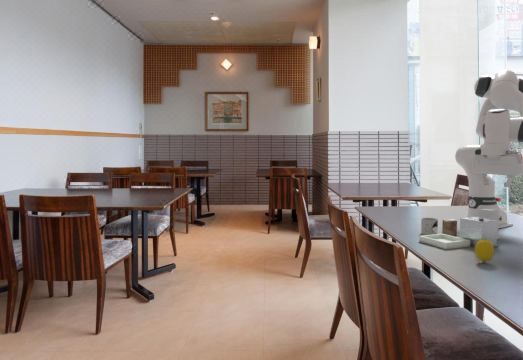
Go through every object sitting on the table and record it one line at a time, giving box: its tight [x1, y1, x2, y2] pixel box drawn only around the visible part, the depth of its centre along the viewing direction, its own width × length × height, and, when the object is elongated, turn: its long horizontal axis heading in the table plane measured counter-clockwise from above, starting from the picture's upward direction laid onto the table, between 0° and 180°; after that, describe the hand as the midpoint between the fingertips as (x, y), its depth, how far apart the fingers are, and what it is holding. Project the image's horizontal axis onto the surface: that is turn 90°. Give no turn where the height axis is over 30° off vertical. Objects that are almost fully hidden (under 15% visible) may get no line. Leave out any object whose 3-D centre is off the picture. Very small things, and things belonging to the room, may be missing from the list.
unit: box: [459, 216, 500, 248], centre depth 163 cm, size 9×11×11 cm
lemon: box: [474, 239, 495, 264], centre depth 137 cm, size 6×6×8 cm
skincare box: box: [479, 209, 500, 240], centre depth 174 cm, size 6×4×12 cm
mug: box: [420, 217, 439, 236], centre depth 186 cm, size 10×7×7 cm, turn 147°
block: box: [441, 218, 458, 237], centre depth 179 cm, size 4×4×7 cm
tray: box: [418, 233, 471, 250], centre depth 165 cm, size 12×14×2 cm
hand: (496, 186), depth 165 cm, fingers open, 8 cm apart
